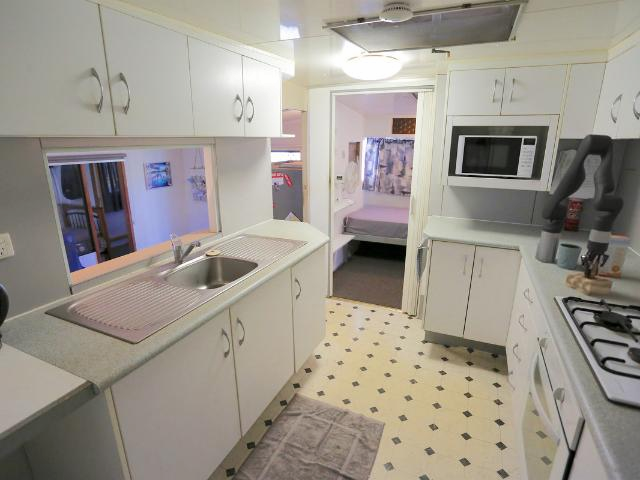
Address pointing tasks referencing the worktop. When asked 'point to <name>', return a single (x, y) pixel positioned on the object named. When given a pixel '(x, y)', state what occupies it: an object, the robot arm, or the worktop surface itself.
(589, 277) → the walnut peg
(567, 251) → the teal ceramic cylinder
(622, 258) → the cracker box
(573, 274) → the oak bore block
